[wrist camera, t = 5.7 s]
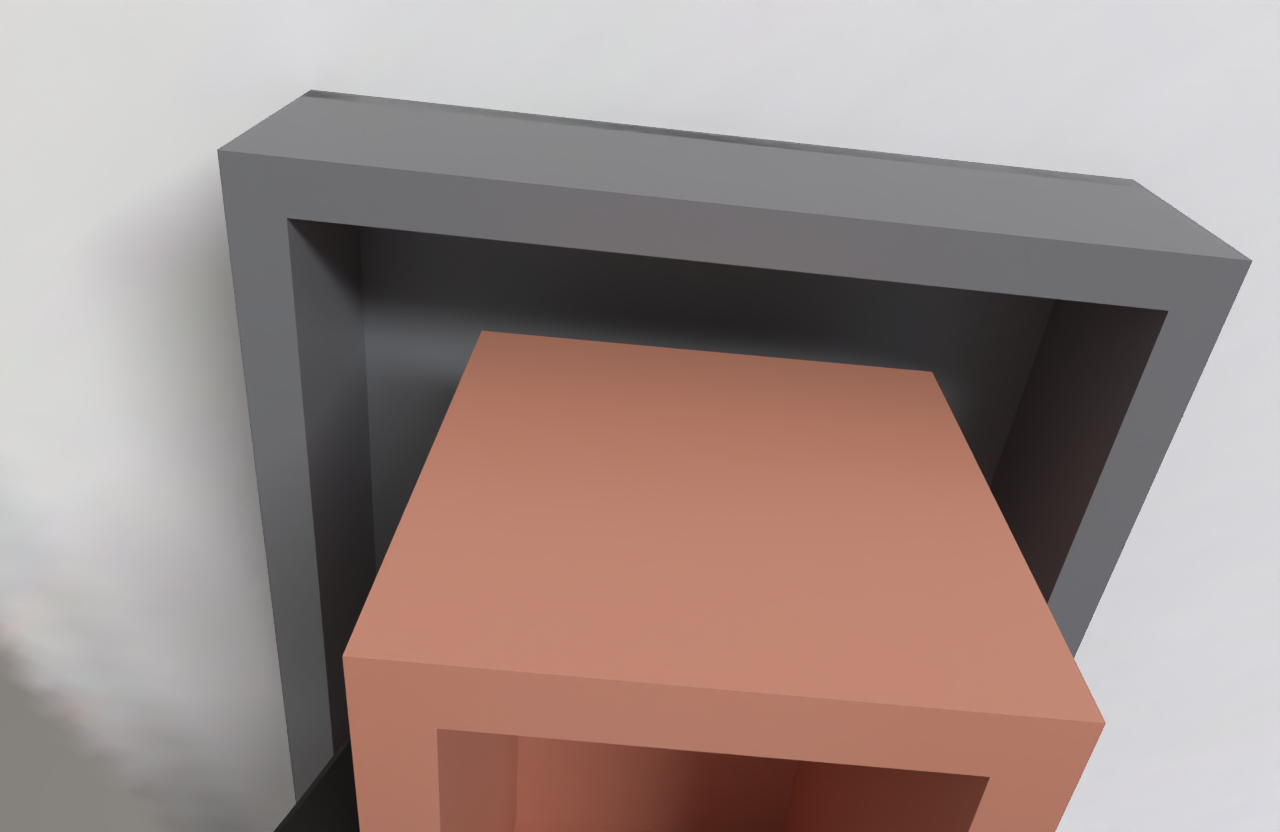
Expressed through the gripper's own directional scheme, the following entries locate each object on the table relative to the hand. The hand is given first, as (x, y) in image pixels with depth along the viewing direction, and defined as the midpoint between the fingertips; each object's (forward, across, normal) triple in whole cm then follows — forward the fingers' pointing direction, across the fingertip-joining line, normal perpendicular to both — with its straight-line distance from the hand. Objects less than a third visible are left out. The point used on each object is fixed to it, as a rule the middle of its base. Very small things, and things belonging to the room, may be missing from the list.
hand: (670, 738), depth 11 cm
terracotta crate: (+2, 0, 0) cm, 2 cm away
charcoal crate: (+4, 0, 0) cm, 4 cm away
